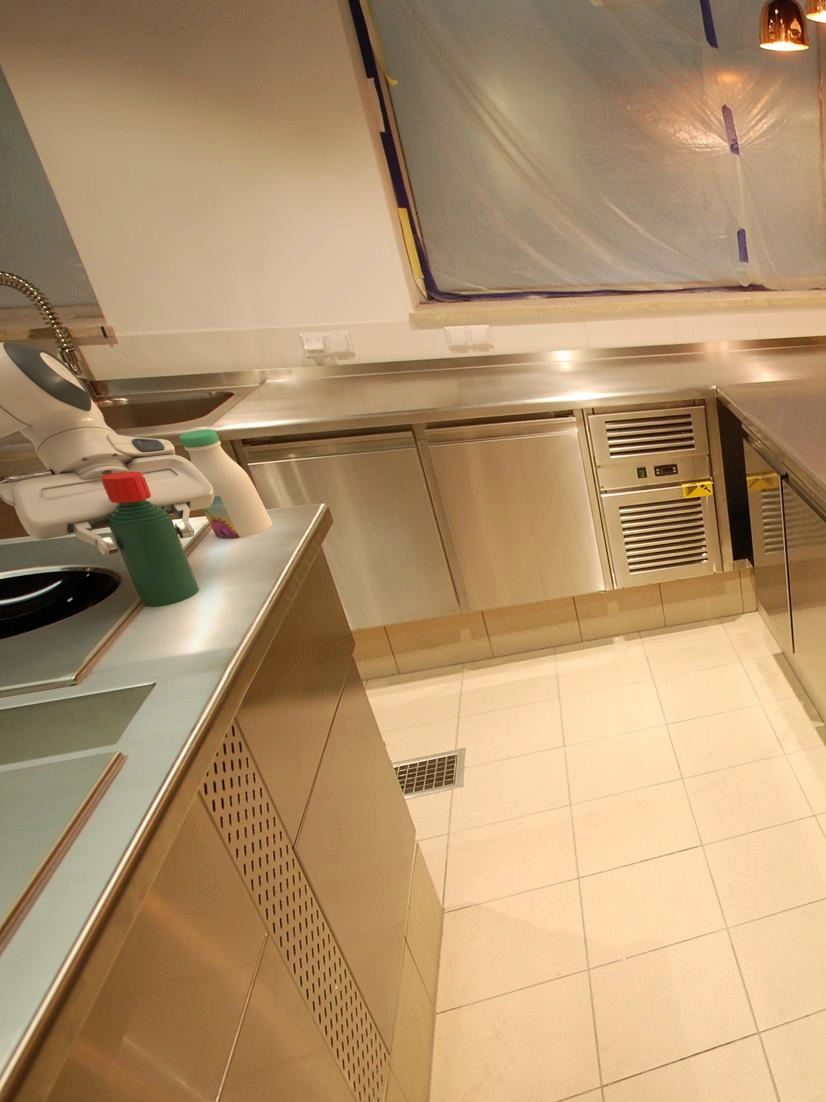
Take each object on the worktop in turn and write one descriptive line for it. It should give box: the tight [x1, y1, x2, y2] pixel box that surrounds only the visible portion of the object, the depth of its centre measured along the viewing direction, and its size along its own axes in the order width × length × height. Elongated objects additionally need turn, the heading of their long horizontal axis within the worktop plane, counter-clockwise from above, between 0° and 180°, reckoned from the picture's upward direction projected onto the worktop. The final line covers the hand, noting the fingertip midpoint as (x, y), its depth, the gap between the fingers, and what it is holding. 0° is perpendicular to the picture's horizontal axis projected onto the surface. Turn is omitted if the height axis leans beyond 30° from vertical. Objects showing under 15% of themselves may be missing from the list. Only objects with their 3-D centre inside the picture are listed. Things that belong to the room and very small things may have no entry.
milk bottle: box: [179, 429, 273, 540], centre depth 137 cm, size 8×8×20 cm
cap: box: [101, 472, 151, 503], centre depth 114 cm, size 4×4×3 cm
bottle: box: [108, 499, 200, 608], centre depth 117 cm, size 6×6×18 cm
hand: (150, 543), depth 117 cm, fingers open, 7 cm apart
